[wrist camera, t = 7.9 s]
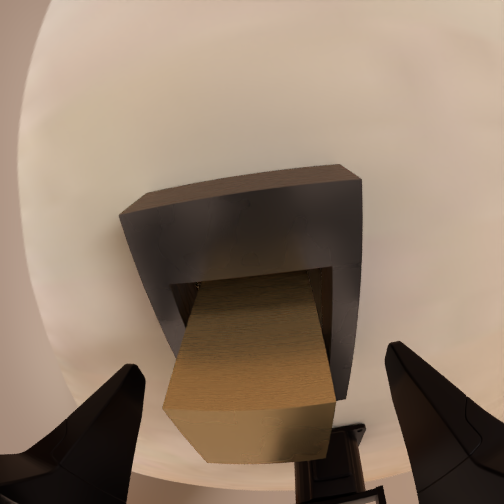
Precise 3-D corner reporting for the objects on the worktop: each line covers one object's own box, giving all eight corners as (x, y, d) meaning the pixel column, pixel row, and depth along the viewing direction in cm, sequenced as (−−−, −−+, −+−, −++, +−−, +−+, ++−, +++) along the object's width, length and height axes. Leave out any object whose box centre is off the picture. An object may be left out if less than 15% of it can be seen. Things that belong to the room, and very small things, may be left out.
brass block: (306, 324, 13) (325, 457, 7) (225, 332, 14) (207, 462, 7) (302, 252, 11) (335, 401, 5) (207, 263, 12) (162, 408, 6)
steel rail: (337, 364, 15) (345, 399, 12) (210, 376, 15) (204, 410, 13) (339, 164, 10) (361, 179, 7) (146, 193, 10) (118, 215, 8)
